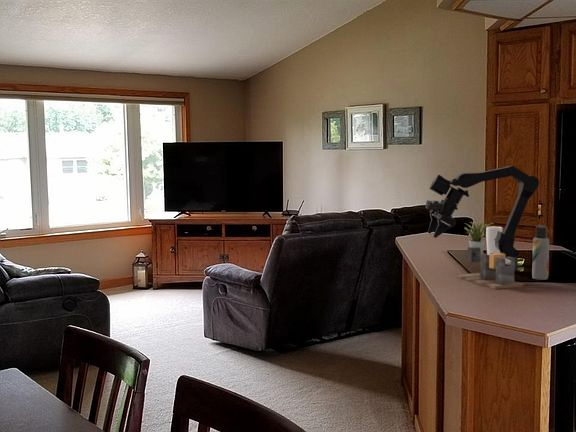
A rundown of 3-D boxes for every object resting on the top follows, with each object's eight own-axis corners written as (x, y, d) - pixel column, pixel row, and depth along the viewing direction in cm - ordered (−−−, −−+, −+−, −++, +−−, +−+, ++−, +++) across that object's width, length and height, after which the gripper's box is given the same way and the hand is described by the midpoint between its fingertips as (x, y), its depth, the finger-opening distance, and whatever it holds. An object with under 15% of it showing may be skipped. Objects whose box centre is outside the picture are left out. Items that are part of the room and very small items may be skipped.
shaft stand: (457, 277, 249) (457, 250, 248) (483, 274, 253) (484, 248, 252) (495, 289, 227) (495, 260, 226) (523, 286, 231) (524, 257, 230)
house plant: (491, 251, 309) (492, 217, 307) (498, 256, 295) (499, 220, 294) (461, 251, 310) (461, 217, 309) (466, 256, 297) (466, 220, 295)
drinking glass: (502, 263, 278) (503, 228, 276) (486, 262, 279) (487, 228, 278) (500, 260, 284) (501, 226, 283) (484, 260, 286) (485, 226, 284)
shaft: (467, 261, 249) (467, 247, 248) (476, 260, 250) (476, 246, 250) (504, 271, 229) (504, 255, 228) (513, 270, 230) (513, 254, 229)
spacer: (489, 267, 236) (489, 253, 235) (500, 266, 237) (500, 253, 237) (493, 268, 233) (493, 254, 233) (505, 267, 235) (505, 254, 234)
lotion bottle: (547, 277, 246) (549, 225, 244) (548, 280, 241) (550, 226, 239) (531, 276, 248) (533, 224, 246) (532, 279, 243) (533, 226, 241)
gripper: (428, 188, 268) (409, 221, 270) (440, 195, 250) (419, 230, 252) (451, 201, 269) (432, 234, 271) (464, 208, 251) (444, 243, 253)
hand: (431, 235), depth 262 cm, fingers open, 9 cm apart
